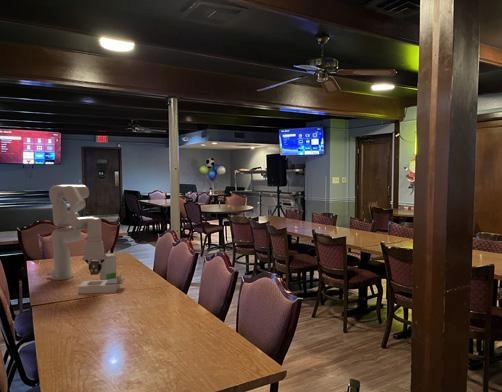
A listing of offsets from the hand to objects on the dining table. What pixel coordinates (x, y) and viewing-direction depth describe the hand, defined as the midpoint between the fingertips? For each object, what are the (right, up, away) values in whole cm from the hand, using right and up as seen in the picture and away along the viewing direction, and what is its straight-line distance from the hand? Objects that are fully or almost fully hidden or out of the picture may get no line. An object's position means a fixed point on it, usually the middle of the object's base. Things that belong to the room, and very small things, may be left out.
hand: (95, 270), depth 221 cm
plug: (0, -2, 0) cm, 2 cm away
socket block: (+2, -11, 0) cm, 11 cm away
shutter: (+11, -7, +1) cm, 13 cm away
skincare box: (-1, -10, +23) cm, 25 cm away
